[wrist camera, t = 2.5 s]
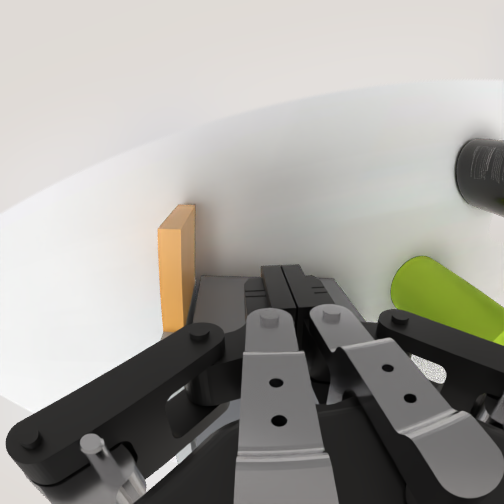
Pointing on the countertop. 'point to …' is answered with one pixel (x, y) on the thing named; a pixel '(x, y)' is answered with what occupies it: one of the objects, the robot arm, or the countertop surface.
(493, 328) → the soap dispenser
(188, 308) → the side door
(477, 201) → the supplement bottle
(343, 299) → the camera housing
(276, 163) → the countertop surface
